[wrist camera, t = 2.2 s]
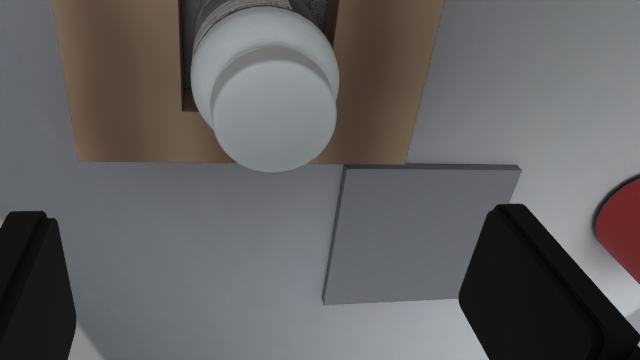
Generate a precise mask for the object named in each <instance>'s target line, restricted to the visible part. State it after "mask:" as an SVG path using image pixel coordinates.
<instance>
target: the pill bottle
mask: <svg viewBox="0 0 640 360" xmlns="http://www.w3.org/2000/svg"><path fill="white" fill-rule="evenodd" d="M191 87H192V93H193V97H194V101H195V103H196V106H197V108H198V110H199V112H200V114H201V116H202V117H203V119H204V120H205V121H206V123H207V124H208V125H209V126H210V127H211V128H212V129H213V130H214V133H215V136H216V138H217V140H218V142H219V144H220V146H221V147H222V149H223V150H224V151H225V152H226V153H227V154H228V155H229V156H230V157H231V158H232V159H233V160H234V161H236V162H237V163H239V164H241V165H242V166H245V167H247V168H249V169H252V170H255V171H260V172H268V173H276V172H285V171H290V170H293V169H296V168H298V167H301V166H303V165H305V164H307V163H308V162H310V161H311V160H312V159H314V158H315V157H316V156H318V155H319V154H320V153H321V152H322V151H323V150H324V148H325V147H326V145H327V144H328V142H329V141H330V139H331V137H332V135H333V132H334V129H335V125H336V119H337V108H336V99H337V95H338V90H339V69H338V64H337V61H336V57H335V54H334V52H333V49H332V46H331V44H330V42H329V40H328V39H327V38H326V36H325V35H324V33H323V32H322V30H321V28H320V27H319V25H318V23H317V21H316V19H315V18H314V16H313V14H312V12H311V10H310V8H309V7H308V5H307V3H306V2H305V0H202V2H201V5H200V7H199V10H198V14H197V19H196V26H195V35H194V47H193V56H192V61H191Z"/></svg>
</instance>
